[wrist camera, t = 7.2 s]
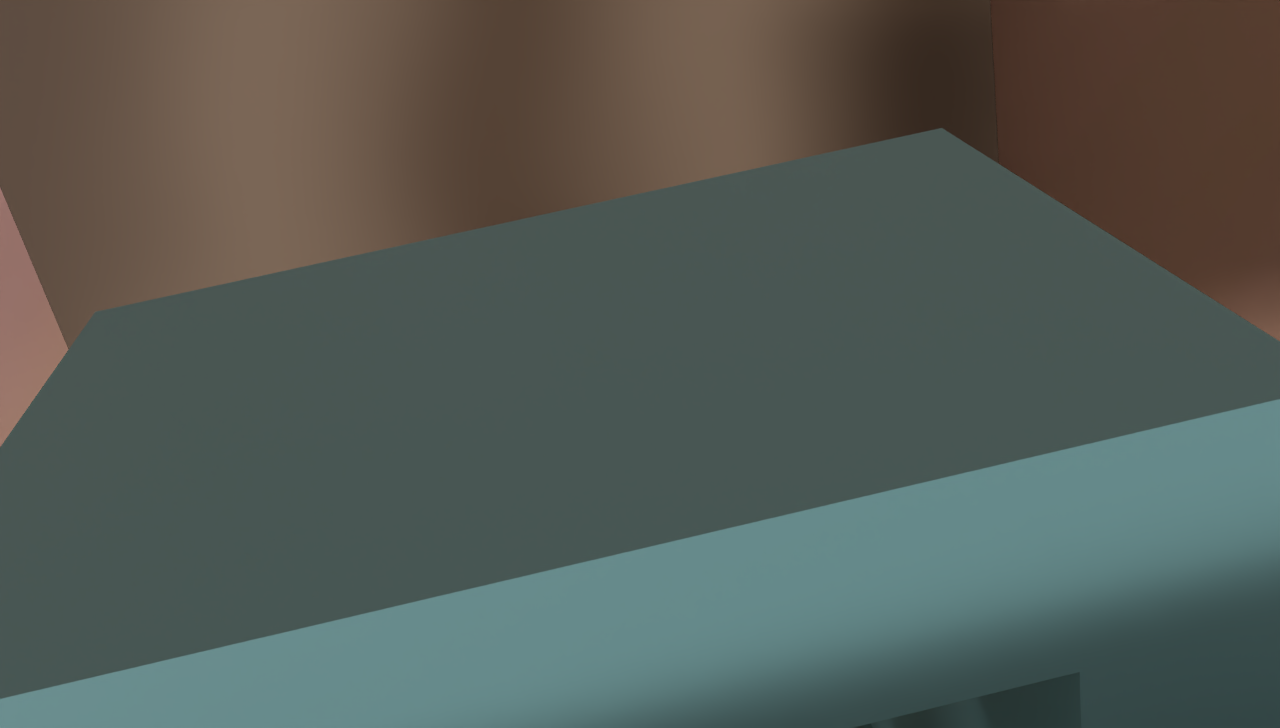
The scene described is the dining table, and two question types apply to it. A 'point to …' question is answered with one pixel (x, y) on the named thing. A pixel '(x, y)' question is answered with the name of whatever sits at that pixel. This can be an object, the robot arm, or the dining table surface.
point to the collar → (664, 477)
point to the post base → (426, 118)
